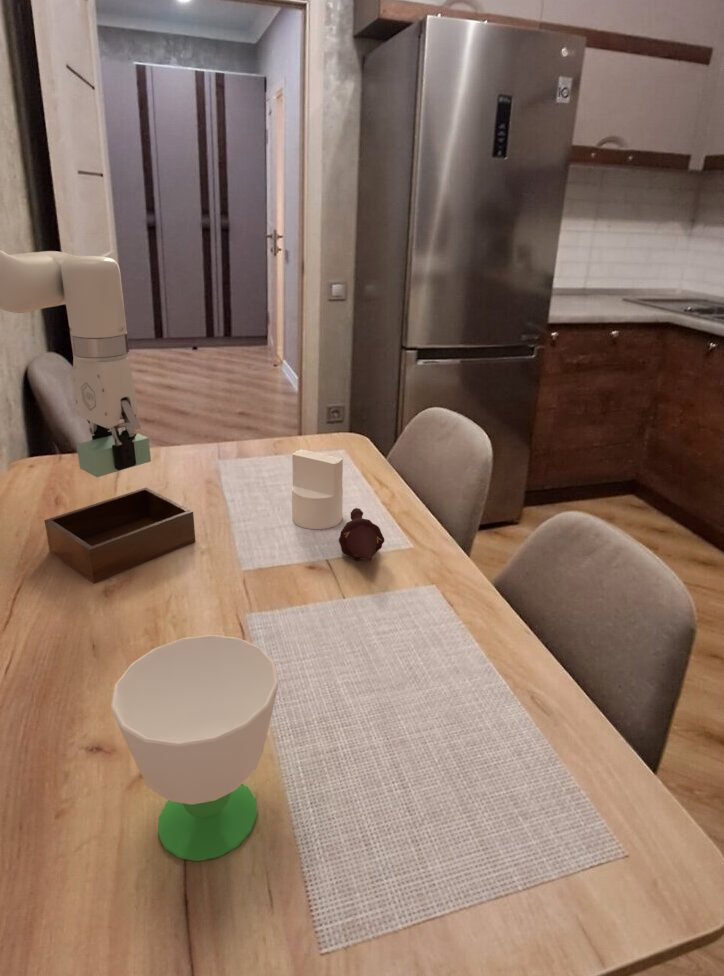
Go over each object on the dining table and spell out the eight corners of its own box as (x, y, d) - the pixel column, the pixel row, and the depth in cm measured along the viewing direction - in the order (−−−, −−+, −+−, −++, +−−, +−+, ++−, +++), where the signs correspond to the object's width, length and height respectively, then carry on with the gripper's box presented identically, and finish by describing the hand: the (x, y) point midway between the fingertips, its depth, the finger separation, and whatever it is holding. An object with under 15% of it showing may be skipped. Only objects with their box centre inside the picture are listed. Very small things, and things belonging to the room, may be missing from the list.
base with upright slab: (351, 513, 123) (352, 453, 119) (326, 533, 116) (326, 470, 111) (309, 503, 126) (309, 443, 122) (282, 521, 119) (281, 459, 114)
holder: (49, 551, 106) (44, 520, 104) (149, 515, 119) (146, 487, 116) (94, 583, 98) (89, 550, 96) (195, 541, 111) (193, 511, 109)
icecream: (399, 542, 101) (378, 507, 115) (352, 534, 99) (337, 499, 113) (386, 583, 103) (368, 543, 116) (340, 576, 100) (327, 536, 114)
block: (79, 468, 102) (76, 444, 100) (133, 453, 108) (131, 430, 107) (96, 477, 99) (93, 452, 97) (151, 461, 105) (148, 437, 104)
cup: (153, 761, 69) (138, 633, 63) (288, 758, 70) (285, 633, 64) (109, 889, 56) (84, 746, 50) (274, 884, 57) (269, 743, 51)
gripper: (46, 340, 98) (64, 454, 105) (107, 360, 89) (123, 485, 96) (94, 333, 104) (109, 443, 111) (157, 352, 94) (169, 470, 101)
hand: (115, 461), depth 103 cm, fingers closed on block, 5 cm apart
